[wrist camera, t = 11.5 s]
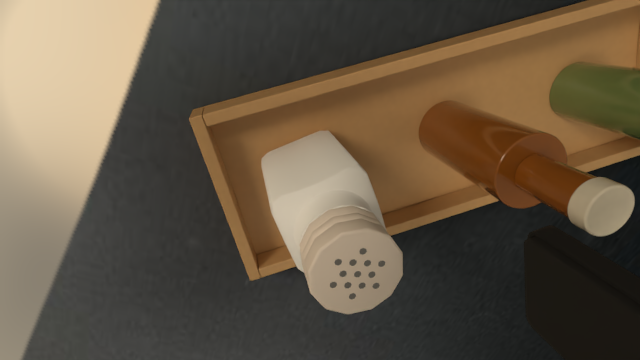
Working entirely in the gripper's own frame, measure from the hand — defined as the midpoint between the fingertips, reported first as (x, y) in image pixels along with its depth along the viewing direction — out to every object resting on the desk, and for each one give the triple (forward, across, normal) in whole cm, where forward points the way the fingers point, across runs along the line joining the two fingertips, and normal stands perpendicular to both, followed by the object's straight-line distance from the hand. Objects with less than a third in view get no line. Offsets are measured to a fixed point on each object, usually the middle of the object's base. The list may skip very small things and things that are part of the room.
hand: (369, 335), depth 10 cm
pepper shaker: (+12, -1, 0) cm, 12 cm away
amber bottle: (+12, -9, 0) cm, 15 cm away
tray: (+12, -9, 0) cm, 15 cm away
